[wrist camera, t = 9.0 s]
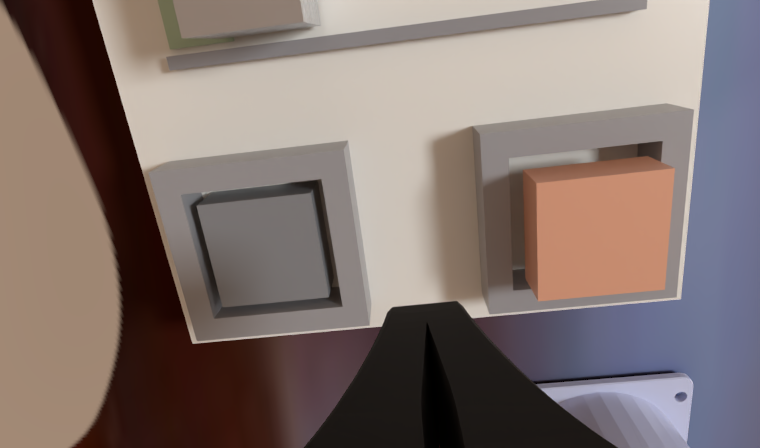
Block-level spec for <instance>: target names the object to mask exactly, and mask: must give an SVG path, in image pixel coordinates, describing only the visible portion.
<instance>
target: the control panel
mask: <svg viewBox="0 0 760 448" xmlns="http://www.w3.org/2000/svg"><path fill="white" fill-rule="evenodd" d="M92 1H93V5H94V8H95V12H96V15H97V18H98V22H99V25H100V29H101V32H102V35H103V39H104V42H105V46H106V49H107V53H108V56H109V59H110V63H111V66H112V70H113V73H114V77H115V80H116V83H117V87H118V90H119V94H120V97H121V100H122V104H123V107H124V111H125V114H126V118H127V121H128V124H129V128H130V131H131V135H132V138H133V142H134V145H135V148H136V152H137V155H138V159H139V162H140V166H141V169H142V172H143V176H144V179H145V183H146V186H147V189H148V193H149V196H150V200H151V203H152V207H153V210H154V213H155V217H156V220H157V224H158V227H159V231H160V234H161V237H162V241H163V244H164V248H165V251H166V254H167V258H168V261H169V265H170V268H171V272H172V275H173V278H174V282H175V285H176V289H177V292H178V296H179V299H180V302H181V306H182V309H183V313H184V316H185V319H186V323H187V326H188V330H189V333H190V337H191V340H192V343H193V344H195V343H206V342H216V341H227V340H238V339H249V338H260V337H271V336H282V335H293V334H304V333H315V332H326V331H337V330H348V329H359V328H370V327H381V326H382V325H383V323H384V320H385V317H386V314H387V312H388V311H389V310H390V309H391V308H392V307H398V306H408V305H418V304H429V303H439V302H449V301H458V302H459V303H460V304H461V305H462V306H463V307H464V308H465V310H466V311H467V312H468V314H469V315H470V316H471V318H479V317H490V316H501V315H512V314H523V313H534V312H545V311H556V310H567V309H578V308H589V307H600V306H611V305H622V304H633V303H644V302H655V301H666V300H677V299H681V291H682V281H683V270H684V260H685V249H686V239H687V229H688V218H689V208H690V198H691V187H692V177H693V167H694V156H695V146H696V136H697V125H698V115H699V104H700V94H701V84H702V73H703V63H704V53H705V42H706V32H707V22H708V11H709V1H710V0H317V1H318V8H319V15H320V21H321V26H315V27H307V28H300V29H292V30H285V31H277V32H269V33H262V34H254V35H247V36H239V37H232V38H224V39H204V38H182V37H181V33H180V29H179V24H178V20H177V16H176V12H175V8H174V4H173V0H92ZM643 156H649V157H651V158H653V159H655V160H658V161H660V162H662V163H664V164H667V165H669V166H671V167H673V168H675V174H674V186H673V198H672V210H671V222H670V234H669V246H668V258H667V270H666V282H665V290H656V291H645V292H635V293H624V294H613V295H602V296H591V297H581V298H570V299H559V300H548V301H538V300H537V299H536V297H535V295H534V293H533V291H532V290H531V288H530V286H529V284H528V282H527V281H526V279H525V241H524V199H523V170H525V169H534V168H543V167H552V166H561V165H570V164H579V163H588V162H597V161H607V160H616V159H625V158H634V157H643ZM315 180H318V185H319V191H320V197H321V203H322V209H323V215H324V221H325V227H326V232H327V238H328V244H329V250H330V256H331V262H332V268H333V274H334V279H333V283H332V287H331V291H330V295H329V297H327V298H317V299H306V300H296V301H285V302H275V303H264V304H254V305H244V306H233V307H223V306H222V303H221V299H220V295H219V291H218V287H217V283H216V279H215V276H214V272H213V268H212V264H211V260H210V256H209V253H208V249H207V245H206V241H205V237H204V233H203V230H202V226H201V222H200V218H199V214H198V210H197V207H196V206H197V205H198V204H199V203H200V202H201V201H203V200H204V199H205V198H206V197H207V196H209V195H210V194H211V193H212V192H217V191H226V190H235V189H244V188H253V187H262V186H270V185H279V184H288V183H297V182H306V181H315Z"/></svg>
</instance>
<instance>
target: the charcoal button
mask: <svg viewBox="0 0 760 448" xmlns="http://www.w3.org/2000/svg"><path fill="white" fill-rule="evenodd" d="M196 207H197V210H198V214H199V218H200V222H201V226H202V230H203V233H204V237H205V241H206V245H207V249H208V253H209V256H210V260H211V264H212V268H213V272H214V276H215V279H216V283H217V287H218V291H219V295H220V299H221V303H222V306H223V307H233V306H244V305H254V304H264V303H275V302H285V301H296V300H306V299H317V298H327V297H329V295H330V291H331V287H332V283H333V279H334V274H333V268H332V262H331V256H330V250H329V244H328V238H327V232H326V227H325V221H324V215H323V209H322V203H321V197H320V191H319V185H318V180H315V181H306V182H297V183H288V184H279V185H270V186H262V187H253V188H244V189H235V190H226V191H217V192H212V193H211V194H210V195H209V196H207V197H206V198H205V199H204V200H203V201H201V202H200V203H199V204H198V205H197V206H196Z"/></svg>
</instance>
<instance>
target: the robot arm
mask: <svg viewBox="0 0 760 448" xmlns="http://www.w3.org/2000/svg"><path fill="white" fill-rule="evenodd" d="M679 392H681V393H680V394H679V395H677V396H675V395H676V394H677V393H679ZM692 393H693V382H692V380H691V379H690V378H689V377H688V376H687V375H686V374H684V373H668V374H655V375H643V376H631V377H619V378H606V379H594V380H582V381H570V382H558V383H545V384H535V383H533V382H532V381H531V380H530V379H529V378H528V377H527V376H526V375H525V374H524V373H523V372H521V371H520V370H519V369H518V368H517V367H516V366H515V365H514V364H513V363H512V362H511V361H510V360H509V359H508V358H507V357H506V356H505V355H504V354H503V353H502V352H501V351H500V350H499V348H498V347H497V346H496V345H495V344H494V343H493V342H492V341H491V340H490V339H489V338H488V337H487V336H486V334H485V333H484V332H483V331H482V330H481V329H480V327H479V326H478V325H477V324H476V323H475V321H474V320H473V319H472V318H471V316H470V315H469V314H468V312H467V311H466V310H465V308H464V307H463V306H462V305H461V304H460V303H459V302H458V301H449V302H439V303H429V304H418V305H408V306H398V307H392V308H391V309H390V310H389V311H388V312H387V314H386V317H385V320H384V323H383V325H382V327H381V330H380V332H379V334H378V336H377V338H376V340H375V342H374V344H373V346H372V348H371V350H370V352H369V354H368V355H367V357H366V359H365V361H364V362H363V364H362V366H361V368H360V370H359V371H358V373H357V375H356V376H355V378H354V380H353V381H352V383H351V384H350V386H349V387H348V389H347V390H346V392H345V393H344V395H343V396H342V398H341V399H340V401H339V402H338V404H337V405H336V407H335V408H334V410H333V411H332V412H331V414H330V415H329V416H328V418H327V419H326V421H325V422H324V423H323V425H322V426H321V427H320V428H319V430H318V431H317V432H316V434H315V435H314V436H313V437H312V438H311V440H310V441H309V442H308V443H307V445H306V446H305V447H304V448H439V444H440V448H690V447H689V446H688V445H687V437H688V428H689V419H690V410H691V402H692Z"/></svg>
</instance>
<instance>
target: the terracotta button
mask: <svg viewBox="0 0 760 448" xmlns="http://www.w3.org/2000/svg"><path fill="white" fill-rule="evenodd" d="M674 174H675V168H673V167H671V166H669V165H667V164H664V163H662V162H660V161H658V160H655V159H653V158H651V157H649V156H643V157H634V158H625V159H616V160H607V161H597V162H588V163H579V164H570V165H561V166H552V167H543V168H534V169H525V170H523V199H524V241H525V279H526V281H527V282H528V284H529V286H530V288H531V290H532V291H533V293H534V295H535V297H536V299H537V300H538V301H548V300H559V299H570V298H581V297H591V296H602V295H613V294H624V293H635V292H645V291H656V290H665V282H666V270H667V258H668V246H669V234H670V222H671V210H672V198H673V186H674Z"/></svg>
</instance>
